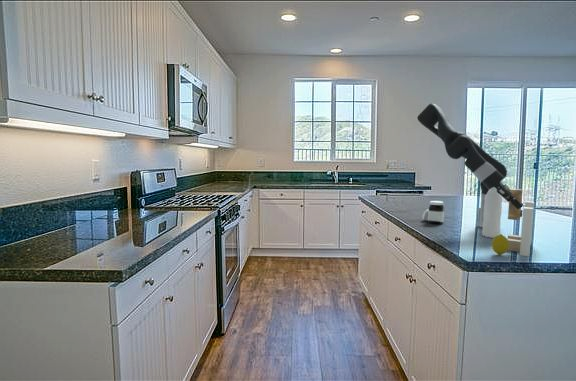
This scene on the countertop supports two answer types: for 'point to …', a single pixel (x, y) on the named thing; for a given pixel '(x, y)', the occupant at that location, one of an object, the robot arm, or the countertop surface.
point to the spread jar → (434, 213)
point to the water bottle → (492, 213)
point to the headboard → (523, 232)
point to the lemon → (500, 244)
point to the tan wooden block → (513, 211)
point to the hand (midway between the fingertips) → (520, 207)
